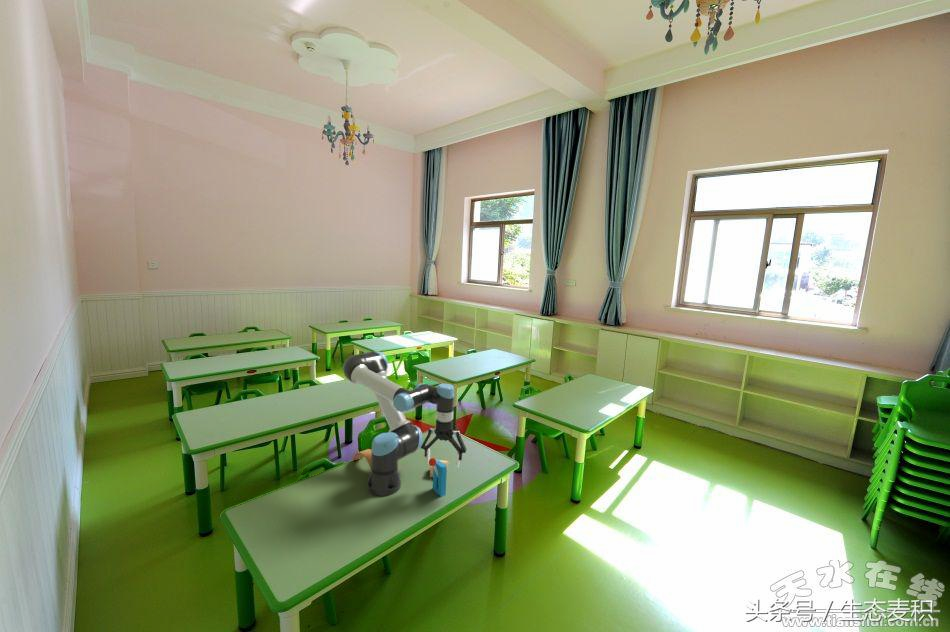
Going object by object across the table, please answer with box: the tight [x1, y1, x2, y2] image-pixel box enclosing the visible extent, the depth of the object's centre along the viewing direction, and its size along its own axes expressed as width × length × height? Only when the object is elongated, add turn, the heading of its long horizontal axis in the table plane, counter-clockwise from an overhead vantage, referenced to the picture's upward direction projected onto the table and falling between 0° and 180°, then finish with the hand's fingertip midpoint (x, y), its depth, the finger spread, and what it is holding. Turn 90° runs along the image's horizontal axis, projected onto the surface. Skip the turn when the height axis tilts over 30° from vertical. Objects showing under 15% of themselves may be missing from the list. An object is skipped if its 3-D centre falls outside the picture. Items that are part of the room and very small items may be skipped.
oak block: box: [429, 459, 449, 478], centre depth 188 cm, size 7×7×7 cm
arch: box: [351, 448, 372, 470], centre depth 189 cm, size 6×20×10 cm, turn 46°
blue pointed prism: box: [428, 457, 448, 497], centre depth 171 cm, size 7×7×18 cm
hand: (442, 465), depth 173 cm, fingers open, 13 cm apart
